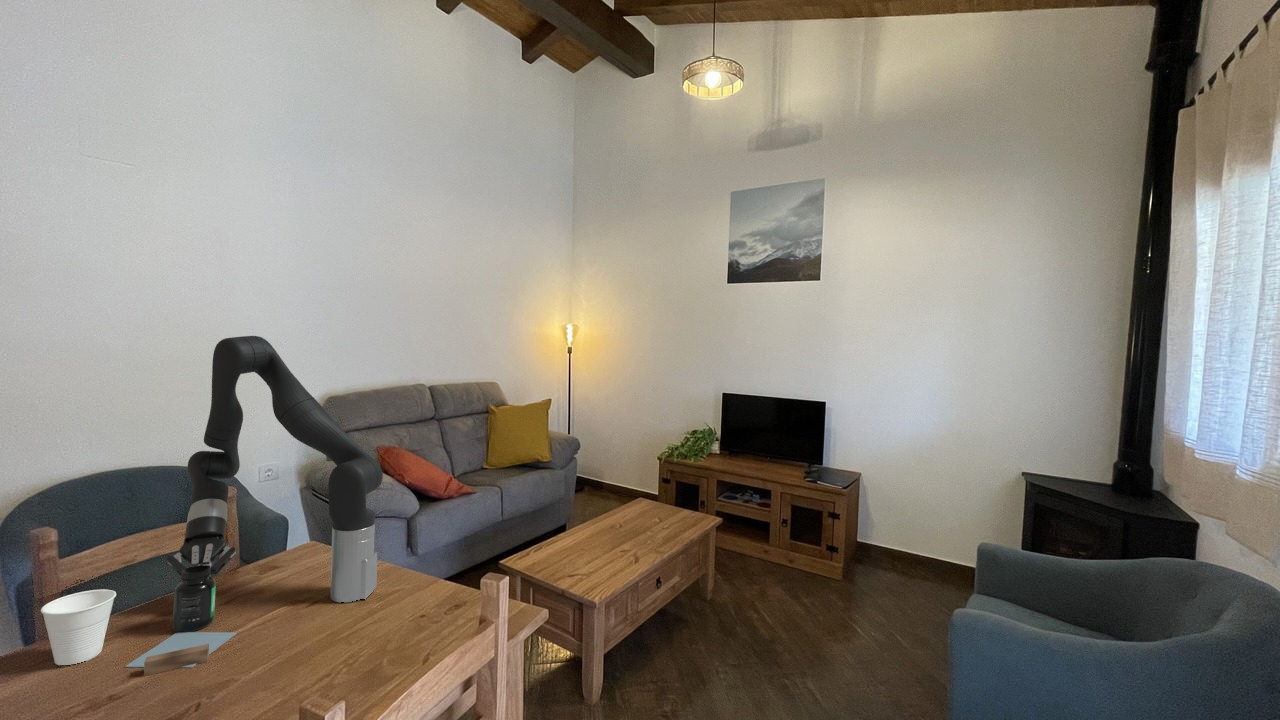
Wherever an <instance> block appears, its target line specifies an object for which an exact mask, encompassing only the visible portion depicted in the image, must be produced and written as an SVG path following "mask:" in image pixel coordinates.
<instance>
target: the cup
mask: <svg viewBox="0 0 1280 720" xmlns="http://www.w3.org/2000/svg"><path fill="white" fill-rule="evenodd" d="M116 596H117V592H116V591H115V590H111V589H107V588H104V589H92V590H84V591H80V592H75V593H72V594H68V595H64V596H62V597H59V598H56V599H54V600H52V601H49V602H47V603H46V604H45V605H43V606H42V607H41V609H40V613H41V614H42V615H43V618H44V623H45V627H46V631H47V635H48V639H49V642H50V647H51V652H52V656H53V661H54V664H55V665H57V666H60V665H71V664H76V665H78V664H77V663H80V664H82V663H81V662H83V663H85V662H84V661H86V662H88V661H90V660H93V659H94V658H96V657H97V656H98V655H99V654H100V653H101V652H102V651H103V648H104V647H103V646H104V642H105V637H106V633H107V629H108V625H109V620H110V618H111V617H110V616H111V614H112V613H111V612H112V609H113V604H114V601H115V598H116ZM71 666H72V665H71Z"/></svg>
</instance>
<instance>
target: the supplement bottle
mask: <svg viewBox="0 0 1280 720" xmlns="http://www.w3.org/2000/svg"><path fill="white" fill-rule="evenodd" d="M210 569H211V568H210V566H208V565H203V564H200V565H199V566H193V567H192V566H189V567H186V569H184V570H183V571H182V572H181V576H180V581H181V582H180V583H178V584H177V585H176V587H175V588H174V593H173V609H172V610H173V616H172V629H173V630H174V631H175V632H176V633H177V632H196V631H198V630H201V629H204V628H207V627H208V626H210V625H211V624H212V623H213V622H214V620H215V613H216V612H215V611H216V609H215V608H216V606H215V605H216V589H217V587H216V586H217V583H216V581H215V579H214V578H212V577H211V576H212V575H211V572H210Z"/></svg>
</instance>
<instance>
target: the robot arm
mask: <svg viewBox="0 0 1280 720" xmlns="http://www.w3.org/2000/svg"><path fill="white" fill-rule="evenodd" d="M211 367H212V371H211V399H210V400H211V402H210V403H211V404H210V411H209V415H208V420H207V424H206V427H205V431H204V436H203V443H204V444H205V445H206V446H207V447H208V448H212V449H217V450H219V451H215V450H212V451H211V450H200V451H197V452H195V453H193V454H192V455H191V456H190V457H189V459H188V462H187V472H188V475H189V480H190V482H191V487H192V495H191V502H190V508H189V511H188V514H187V519H186V520H187V521H186V526H185V531H184V540H183V544H182V545H181V547H180V548H179V552H177V553H176V554H174V555H168V556H167V557H166V561H167V564H168V566H169V567H170V568H171V569H172V570H174V571H175V572H176V573H177V574H178V575H179V576H180V577H181V572H182V571H183V570H184V569H186V568H187V567H186V566H185V565H184V564H183V563H182V558H183V559H184V560H185V561H186V562H187V563H188V564H190V565H191V567H193V566H199V565H208V566H210V568H211V569H210V572H211V575H210V576H212V575H217V574H219V572H221V570H223V568H224V567H225V566H226V565H228V563H230V561H232V559H233V558H235V556H236V555H237V549H236V547H234V546H233V547H229V546H228V545H227V542H226V540H225V539H226V530H227V529H226V528H227V521H228V498H229V486H228V484H227V483H226V482H223V481H220V480H228V479H232V478H233V477H235V476H236V475H237V473H239V470H240V467H241V466H240V465H241V464H240V456H239V448H238V447H239V446H238V445H239V438H240V434H241V430H242V426H243V423H244V422H243V421H244V411H243V408H242V406H241V405H242V404H241V403H240V400H239V398H238V396H237V392H236V388H237V384H238V382H239V381H238V380H239V378H240V377H241V375H245V374H249V373H255V374H256V375H258V376H259V377H260V378H261V379H262V380H263V381H264V382H265V384H266V385H267V387H268V388H269V390H270V392H271V402H272V403H271V404H272V410H273V415H274V417H275V418H276V420H277V421H278V423H280V425H281V426H282V427H283V428H284V429H285V430H286V431H287V432H288V433H289V435H290V436H292V437H293V438H294V439H296V440H297V441H299V442H300V443H302V444H304V445H306V446H308V447H309V448H311V449H314V450H316V451H318V452H320V453H321V454H322V455H324V456H326V457H327V458H328V459H330V460H331V461H332V462H333V463H334V464H335V465H336V466H335V467H334V468H333V469H332V471H331V472H330V475H329V477H328V482H327V483H328V484H327V485H328V486H327V489H328V490H327V492H328V493H327V497H328V514H329V518H330V519H331V523H332V527H331V531H332V532H331V558H330V559H331V562H330V568H331V569H330V600H331V601H333V602H335V603H341V602H344V603H343V604H345V603H352V601H353V602H357V601H356V600H358V601H361V600H360V599H365V600H367V599H368V598H367V597H368V596H369V595H370V594H371V593H372V592H373V590H374V589H375V588H376V589H377V580H378V579H377V577H378V576H377V575H378V574H377V573H378V551H375V530H376V529H375V528H376V527H375V526H376V513H375V511H374V510H372V509H370V508H367V498H366V495H368V494H370V493H372V492H374V491H375V490H377V489H378V488H379V487H380V486H381V484H382V483H383V479H384V478H383V477H384V476H383V474H384V473H383V471H382V468H381V466H380V464H379V463H378V462H377V461H376V459H374V458H373V456H371V455H370V454H369V453H368V452H367V451H365V449H363V447H360V446H359V444H357V442H355V441H354V440H353V439H352V438H351V437H350V436H349V435H348V434H347V433H346V431H345V430H343V428H342V427H341V426H340V425H339V424H338V423H337V422H336V421H335V420H334V419H333V418H332V417H331V415H330V414H329V413H328V412H327V411H326V409H325V408H324V407H323V406H322V405H321V403H319V401H317V399H316V398H315V397H314V396H312V394H311V393H310V392H309V391H308V389H306V388H305V387H304V385H303V384H302V383H301V382H300V380H299V379H298V378H297V377H296V376H295V375H294V374H293V373H292V372H291V370H290V369H289V368H288V366H287V364H286V363H285V361H284V360H283V359H282V357H281V356H280V355H279V353H278V352H277V351H276V349H275V348H274V347H273V345H272V344H271V343H270V342H269V341H268V340H267V339H265V338H264V337H261V336H259V335H246V336H243V335H241V336H232V337H226V338H222V339H221V340H220V341H218V343H217V344H216V346H215V347H214V350H213V354H212V366H211ZM221 554H222V556H221ZM219 556H221V557H220V558H219V559H218V557H219ZM216 559H218V560H217V561H216ZM215 561H216V562H215ZM213 562H214V564H213ZM376 589H375V590H376ZM375 590H374V591H375ZM373 593H374V592H373ZM371 595H372V594H371ZM371 595H370V596H371ZM370 596H369V597H370ZM366 598H367V599H366Z"/></svg>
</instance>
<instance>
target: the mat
mask: <svg viewBox="0 0 1280 720" xmlns="http://www.w3.org/2000/svg"><path fill="white" fill-rule="evenodd" d="M237 634H238V632H231V631H230V632H228V631H227V632H225V631H224V632H223V631H222V632H218V631H217V632H214V631H213V632H211V631H210V632H206V631H205V632H203V631H202V632H200V631H190V632H177V631H176V632H175V633H174V634H172V635H171V636H169V637H168V638H166V639H165V640H163V641H162V642H160V643H159V644H157V645H155V646H154V647H152V648H151V649H150V650H148V651H146V652H145V653H143V654H142V655H140V656H138V657H137V658H136V659H134V660H132V661H131V662H130V663H128V664H127V665H125V666H124V668H144V662H145V660H146V658H147V657H149V656H154V655H159V654H164V653H168V652H173V651H178V650H182V649H187V648H192V647H196V646H201V645H206V644H209V655H210V654H212V653H213V652H214V651H216V650H217V649H219V648H220V647H221V646H223V645H224V644H225V643H226V642H227V641H229V640H231V639H232V638H233V637H234V636H235V635H237ZM196 665H197V664H192V665H187V666H183V667H182V668H184V669H186V668H187V669H188V668H190V669H192V668H193V667H194V666H196ZM182 668H181V669H182Z"/></svg>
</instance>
